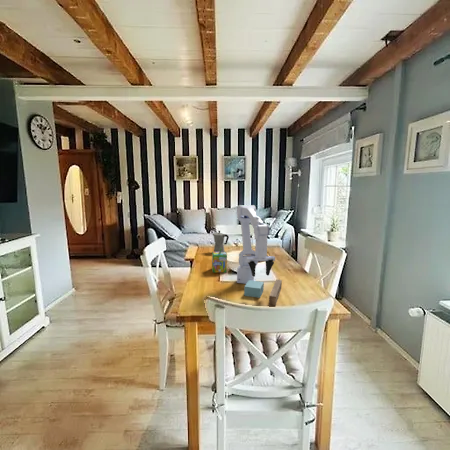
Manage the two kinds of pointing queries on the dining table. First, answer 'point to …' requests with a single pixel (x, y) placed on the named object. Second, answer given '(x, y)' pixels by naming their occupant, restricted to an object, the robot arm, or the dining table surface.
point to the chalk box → (219, 262)
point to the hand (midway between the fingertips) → (260, 275)
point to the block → (254, 288)
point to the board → (275, 292)
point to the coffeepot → (219, 241)
